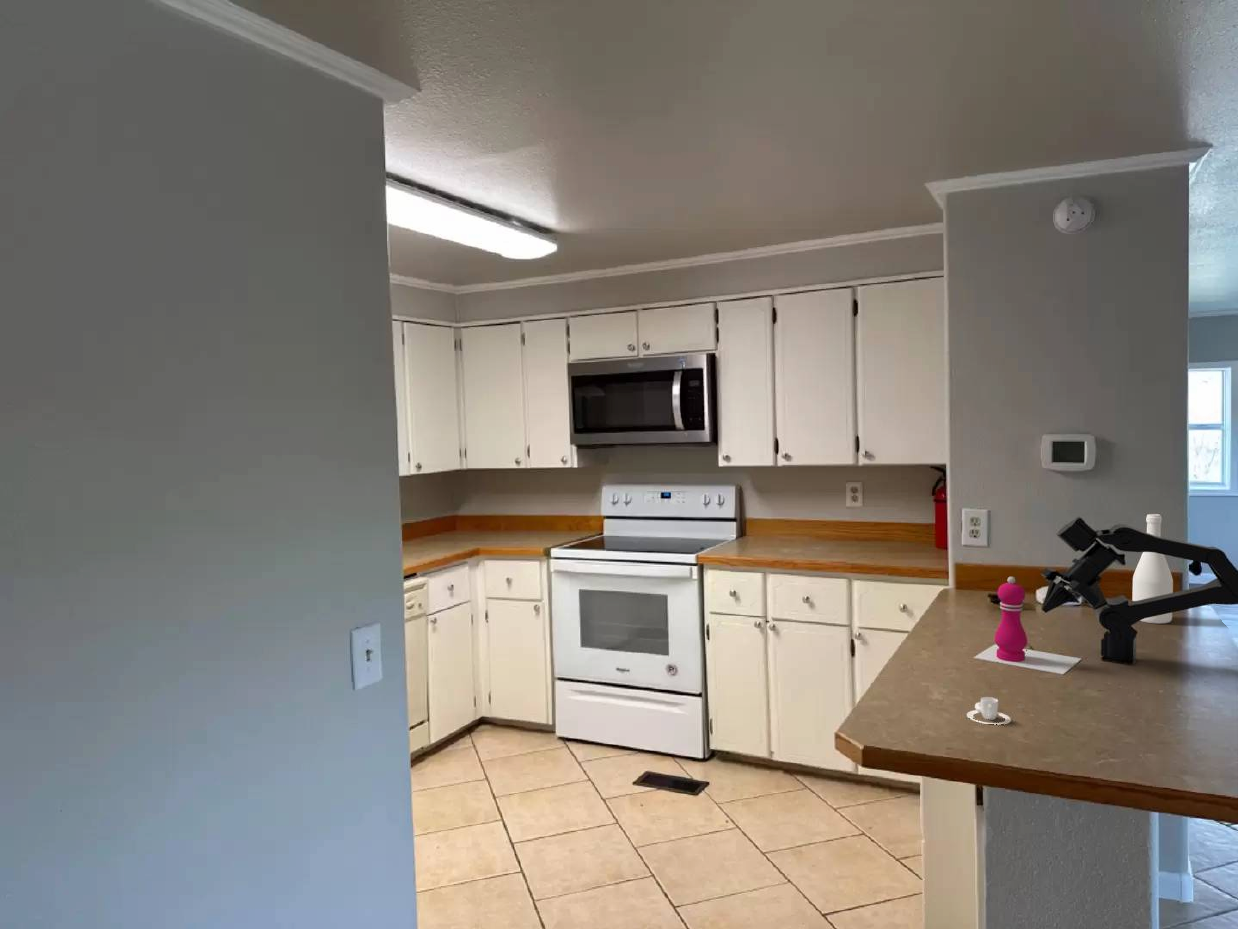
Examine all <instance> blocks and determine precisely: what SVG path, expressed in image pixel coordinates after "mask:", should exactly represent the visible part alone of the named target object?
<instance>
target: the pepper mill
mask: <svg viewBox="0 0 1238 929" xmlns="http://www.w3.org/2000/svg"><path fill="white" fill-rule="evenodd" d="M997 597H998V599H1000V602H999V608H1000V610H1001V621H1000V623H999V626H998V627H997V629H996V631H995V634H994V643H995V644H997V646H998V647H999V648H998V649H997V658H999V659H1001V660H1005V661H1011V662H1019V661H1024V660H1025V652H1024V651H1023V649H1026V647H1027V646H1028V637H1027V636H1028V635H1027V634H1026V631H1025V629H1024V627H1023V624H1022V621H1021V611H1023V610H1024V609H1023V605H1024V604H1023V603H1022V602H1023V601H1024V599H1025V598H1026V592H1025V589H1024V588H1023V586H1022V585H1020V584H1019V583H1016V578H1015V576H1009V577H1008V578H1007V582H1005V583H1002V584H1001V585H1000V586H999V587H998V588H997Z"/></svg>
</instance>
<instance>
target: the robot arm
mask: <svg viewBox="0 0 1238 929" xmlns="http://www.w3.org/2000/svg"><path fill="white" fill-rule="evenodd" d="M1056 537H1058V538H1060V539H1061V540H1062V541H1063V542H1064V543H1065V544H1066V545H1067V546H1068V547H1069V548H1070V549H1072V550H1073V551H1074V552H1075V553H1077V552H1078V551H1080V552H1082V553H1083V552H1085V551H1086V552H1085V553H1084V554H1083V555H1082V556H1080V558H1074V559H1073V560H1071V561H1072V563H1073V564H1072V565H1071V566H1070V567H1069V568H1068V569H1067V570H1066V571H1064V570H1060V571H1058V570H1055V568H1054V569H1053V568H1045V569H1044V570H1043V571H1042V572H1041V574H1040V575H1041V576H1042V577H1043V578H1044V579H1045V580H1046V581H1047V582H1048V588H1047V591H1046V594H1045V598H1044V599H1043V600H1044V601H1043V603H1042V606H1041V611H1043V612H1044V613H1049V612H1050V611H1052V610H1055V609H1056V608H1058V607H1060V606H1063V605H1065V604H1067V603H1077V604H1079V603H1081V602H1080V601H1079V600H1080V599H1081V597H1082V598H1083V602H1084V604H1085V605H1086V607H1088V608H1091V609H1092V610H1094V612H1095V617H1096V619H1097V620H1098V622H1099V623H1100V625H1101V626H1102V627H1103V628H1104V629H1105V630H1106V631H1105V632H1104V633H1103V637H1102V638H1101V639H1100V656H1101V659H1100V660H1101V661H1106V662H1112V663H1118V664H1123V665H1130V666H1132V665H1134V664H1135V663H1136V662H1137V661H1138V659H1139V657H1138V656H1137V634H1138V631H1137V629H1136V628H1135V627H1134V625H1135V624H1137V623H1138V622H1141V621H1140V620H1142V619H1144V618H1149V617H1153V616H1158V615H1163V614H1167V613H1172V614H1173V613H1175V612H1180V611H1181V612H1182V611H1185V610H1190V609H1195V608H1199V607H1203V606H1209V605H1223V606H1225V605H1226V606H1227V605H1228V606H1230V605H1238V569H1237V567H1236V566H1234V564H1233V563H1232V562H1231V561H1230V559H1229V558H1228V556H1227V555H1226V552H1224V551H1223V550H1221V549H1220V548H1218V547H1216V546H1206V545H1202V544H1196V543H1191V542H1186V541H1184V540H1183V541H1181V540H1177V539H1173V538H1167V537H1163V536H1161V537H1158V536H1154V535H1151V534H1149V533H1147V531H1144V530H1141V529H1139V528H1135V527H1133V526H1131V525H1128V524H1123V523H1117V524H1114V525H1113V526H1112V527H1110V528H1109V529H1108V528H1107V529H1099V530H1094V529H1093V528H1092V527H1091V526H1090V525H1088V523H1086V521H1085V520H1084V519H1083V518H1082V517H1081V516H1077V517H1075V519H1073V520H1071V521H1070V522H1069V523H1066V524H1064V525H1063V527H1061V528H1060V530H1059V531H1058V532H1057V533H1056ZM1100 541H1101V542H1102V543H1103V544H1102V543H1101V542H1100ZM1106 545H1107V546H1106ZM1110 545H1111V546H1110ZM1112 546H1113V547H1114V548H1115V549H1116V550H1118V551H1122V552H1128V553H1129V552H1132V553H1143V552H1154V553H1159V554H1164V556H1169V557H1174V558H1179V559H1184V560H1188V561H1191V562H1192V561H1193V562H1197V563H1202V564H1207V565H1208V568H1210V571H1211V572H1213V575H1214V576H1215V577H1216V578H1214V579H1213V580H1210V581H1208V582H1207V583H1205V584H1203V585H1201V586H1197V587H1194V588H1193V587H1192V588H1190V589H1184V590H1180V591H1175V592H1174V591H1173V593H1170V594H1165V595H1161V596H1156V597H1152V598H1147V599H1143V600H1138V601H1132V600H1128V599H1127V598H1126V597H1125V596H1124V595H1120V596H1117V597H1114V598H1106V597H1105V595H1104V594H1103V592H1102V590H1101V587H1100V585H1099V583H1101V582H1102V577H1101V575H1103V573H1104V572H1106V570H1108V568H1110V567H1111V566H1112V565H1113V564H1114V563H1115V564H1116V565H1118V566H1126V565H1127V564H1126V554H1125V553H1119V552H1117V551H1116V550H1115V549H1114V548H1113V547H1112Z"/></svg>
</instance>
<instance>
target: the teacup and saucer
mask: <svg viewBox="0 0 1238 929" xmlns="http://www.w3.org/2000/svg"><path fill="white" fill-rule="evenodd" d="M998 707H999V699H997V698H995V697H991V696H982V697H980V701H978V702H976V703H975V704H974V708H975V709H974V710H970V711H968V712H967V713H966V717H967V718H968V719H969V718H970V719H969V720H971V721H973V722H976V723H978V724H984V725H988V724H994V725H993V726H1002V725H1001V724H1004V725H1008V724H1009V723H1010V722H1011V721H1012V719H1011V717H1010V716H1009V715H1007V714H1005V713H1002V712H999V711H998V709H999V708H998ZM975 714H981V716H982V717H983V719H985V720H988V719H989V721H992V720H993V721H994V720H995V719H997V716H1000V717H1002V718H1003V719H1004V718H1005V721H1004V720H1003V721H1004V722H1003V721H1001V722H986V721H981V720H979V719H977V720H975V719H976V718H975V716H974V715H975ZM973 718H975V719H973ZM978 720H979V721H978ZM996 724H997V725H996Z"/></svg>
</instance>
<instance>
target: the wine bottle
mask: <svg viewBox="0 0 1238 929" xmlns="http://www.w3.org/2000/svg"><path fill="white" fill-rule="evenodd" d="M1162 518H1163V517H1162V516H1161V514H1158V513H1148V514H1146V518H1145V522H1146V533H1149V534H1151V535H1154V536H1158V537H1162V535H1161V534H1162V532H1161V531H1162V530H1161V527H1162V526H1161V524H1162ZM1141 553H1142V554H1141V556H1140V559H1139V561H1138V563H1137V566H1136V569H1135V570H1134V573H1133V576H1132V596H1131V597H1132V600H1131V601H1138V600H1143V599H1147V598H1152V597H1156V596H1161V595H1165V594H1170V593H1174V589H1173V588H1174V579H1173V576H1172V573H1171V572H1172V571H1171V570H1170V567H1169V564H1168V561H1167V559H1166V555H1164V554H1159V553H1154V552H1141ZM1172 620H1173V612H1172V613H1167V614H1163V615H1158V616H1153V617H1149V618H1144V619H1142V620H1140V621H1139V622H1142V623H1147V624H1148V623H1149V624H1168V623H1171V622H1172Z"/></svg>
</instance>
